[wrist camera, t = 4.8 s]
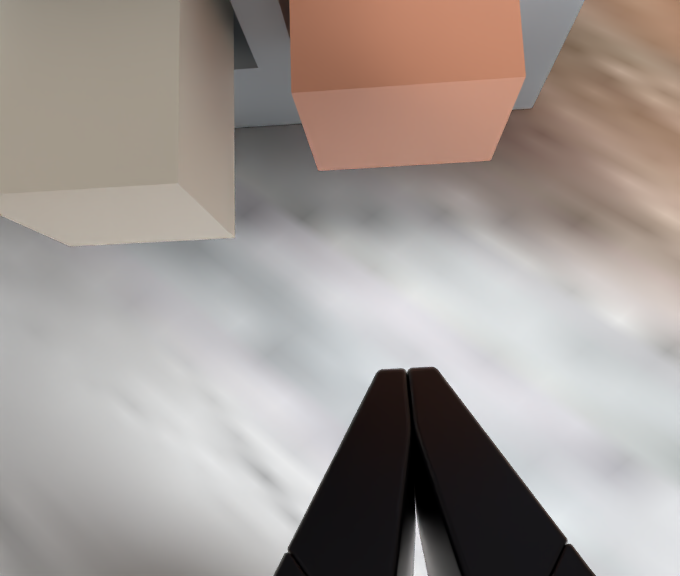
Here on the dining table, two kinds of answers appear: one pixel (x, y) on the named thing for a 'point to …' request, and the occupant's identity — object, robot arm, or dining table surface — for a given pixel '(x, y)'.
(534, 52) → the grey box
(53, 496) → the dining table surface
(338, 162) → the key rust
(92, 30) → the key ivory
